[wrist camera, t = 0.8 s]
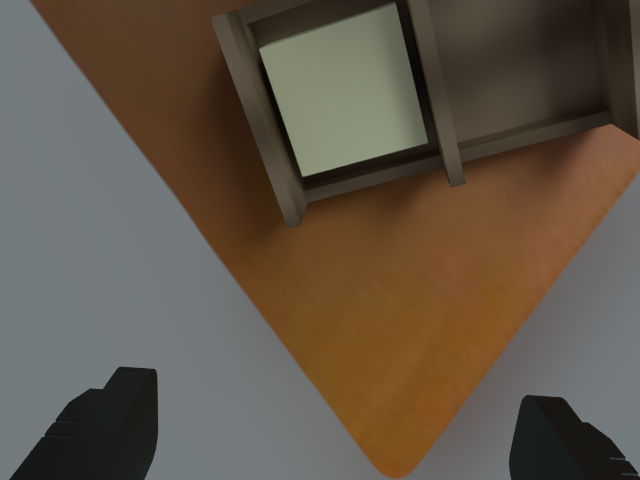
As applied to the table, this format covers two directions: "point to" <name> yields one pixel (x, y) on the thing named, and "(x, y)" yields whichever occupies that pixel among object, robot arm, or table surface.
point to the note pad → (346, 90)
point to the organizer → (453, 81)
